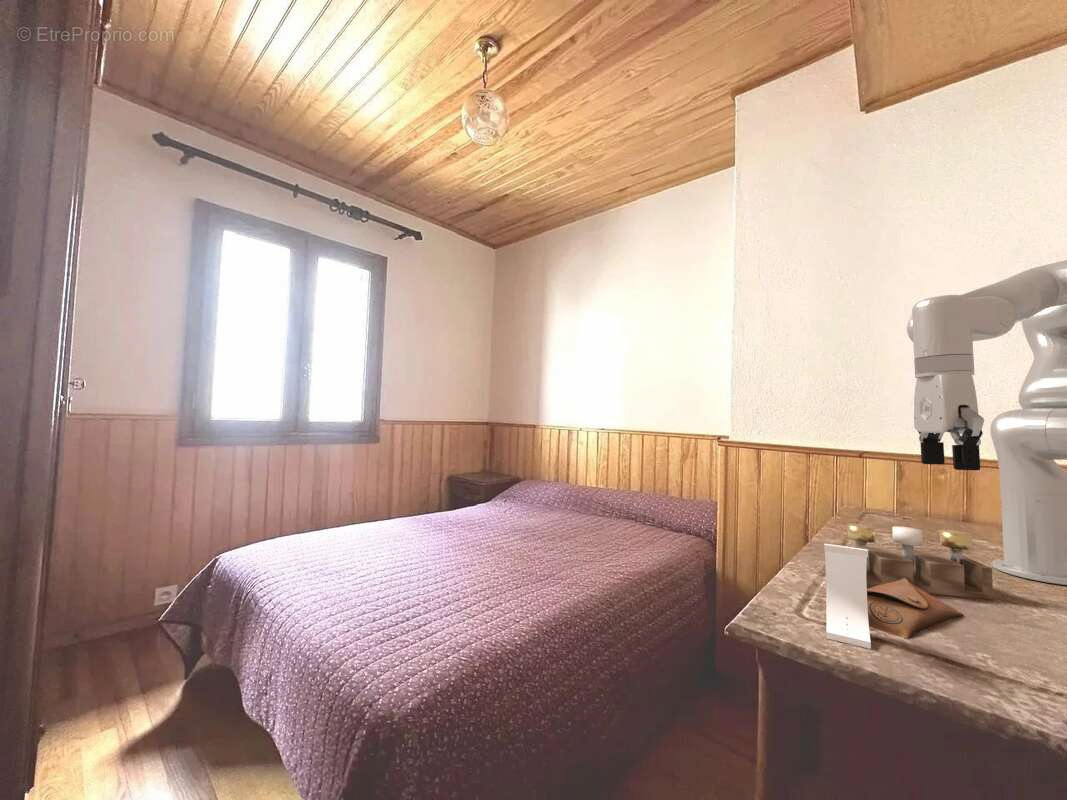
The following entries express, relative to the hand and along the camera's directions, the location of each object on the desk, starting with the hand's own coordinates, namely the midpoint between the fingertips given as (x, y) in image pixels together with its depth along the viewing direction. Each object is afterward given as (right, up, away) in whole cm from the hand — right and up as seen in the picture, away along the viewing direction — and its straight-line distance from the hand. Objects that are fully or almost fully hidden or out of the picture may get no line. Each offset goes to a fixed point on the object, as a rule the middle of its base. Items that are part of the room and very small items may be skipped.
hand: (948, 466), depth 74 cm
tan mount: (-5, -21, +2) cm, 22 cm away
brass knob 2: (+2, -18, 0) cm, 18 cm away
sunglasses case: (-17, -21, -11) cm, 29 cm away
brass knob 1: (-12, -18, +4) cm, 22 cm away
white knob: (-5, -18, +2) cm, 19 cm away
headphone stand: (-30, -20, -17) cm, 40 cm away
